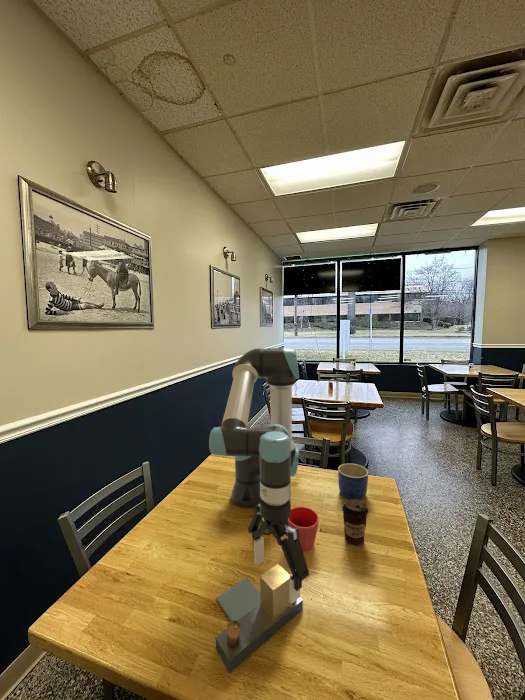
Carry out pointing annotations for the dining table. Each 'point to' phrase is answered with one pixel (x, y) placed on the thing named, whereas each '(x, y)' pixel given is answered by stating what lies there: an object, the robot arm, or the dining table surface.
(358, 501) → the coffee cup
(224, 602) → the mat
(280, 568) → the tan wooden block
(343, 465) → the planter
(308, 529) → the flower pot
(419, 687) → the dining table surface
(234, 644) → the plane body
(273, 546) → the dining table surface
